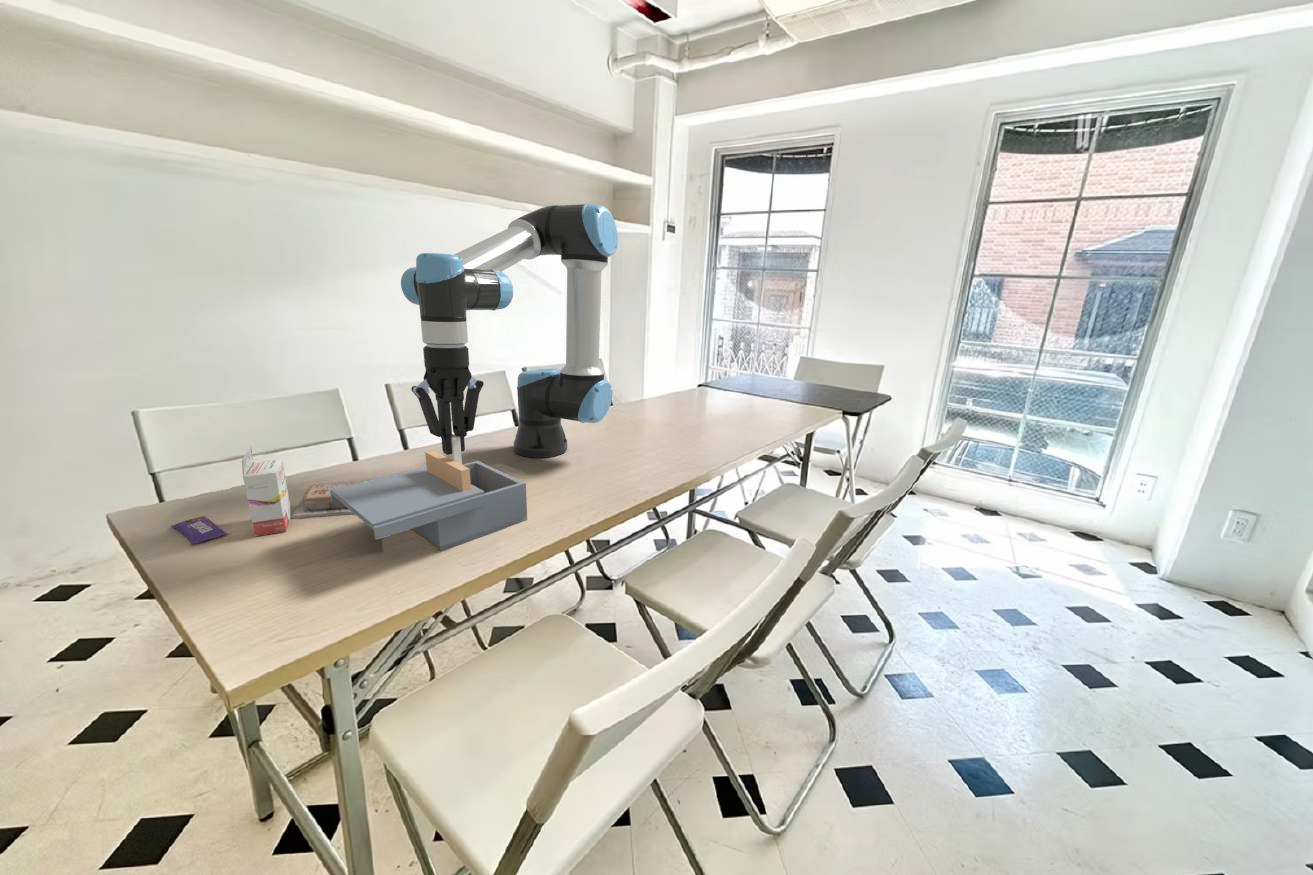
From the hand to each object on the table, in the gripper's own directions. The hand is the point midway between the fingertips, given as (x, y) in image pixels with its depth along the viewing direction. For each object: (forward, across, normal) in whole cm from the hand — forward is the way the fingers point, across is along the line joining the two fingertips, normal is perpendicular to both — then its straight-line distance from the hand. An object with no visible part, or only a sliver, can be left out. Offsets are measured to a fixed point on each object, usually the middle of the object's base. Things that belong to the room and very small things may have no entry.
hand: (455, 468), depth 96 cm
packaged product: (+12, +12, -22) cm, 28 cm away
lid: (+4, +9, 0) cm, 10 cm away
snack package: (+12, +35, -28) cm, 47 cm away
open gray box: (+11, -1, 0) cm, 11 cm away
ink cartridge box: (+11, +25, -22) cm, 35 cm away
